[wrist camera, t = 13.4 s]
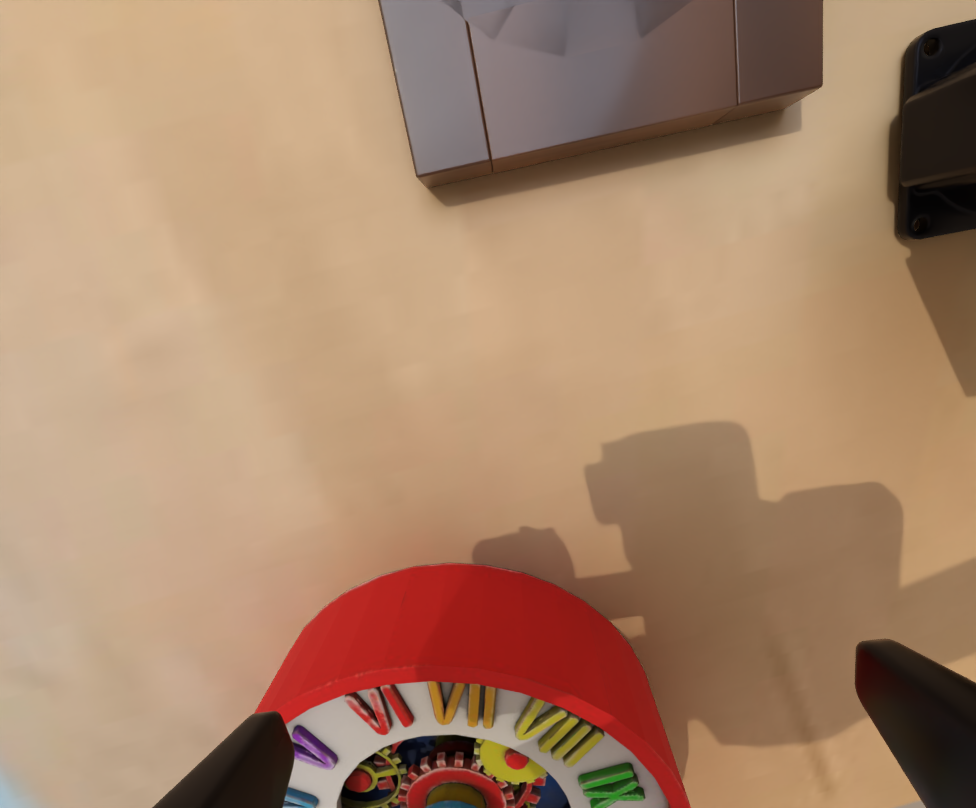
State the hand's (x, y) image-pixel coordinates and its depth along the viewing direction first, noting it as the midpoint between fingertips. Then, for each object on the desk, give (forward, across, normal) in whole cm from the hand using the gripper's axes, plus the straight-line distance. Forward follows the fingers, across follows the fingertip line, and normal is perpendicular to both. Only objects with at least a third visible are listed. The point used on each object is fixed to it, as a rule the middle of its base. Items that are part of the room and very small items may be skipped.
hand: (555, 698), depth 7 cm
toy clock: (+13, +6, +16) cm, 22 cm away
